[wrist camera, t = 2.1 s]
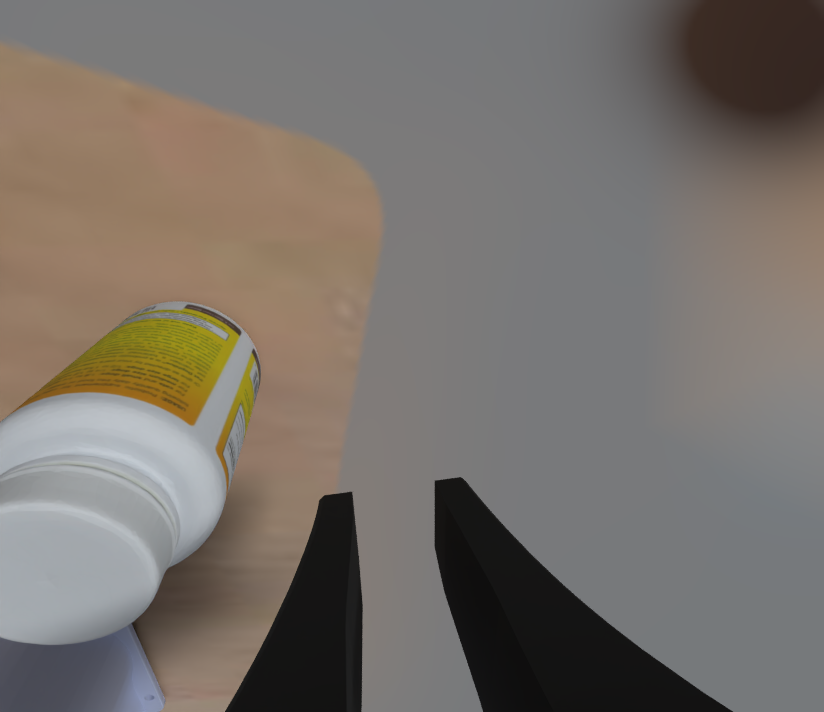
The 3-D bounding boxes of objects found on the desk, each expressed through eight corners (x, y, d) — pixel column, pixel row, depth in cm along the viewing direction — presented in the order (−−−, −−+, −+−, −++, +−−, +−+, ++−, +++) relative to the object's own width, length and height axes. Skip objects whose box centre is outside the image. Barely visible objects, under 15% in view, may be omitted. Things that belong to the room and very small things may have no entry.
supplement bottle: (83, 329, 17) (-222, 543, 7) (220, 275, 17) (85, 421, 7) (167, 439, 19) (17, 703, 10) (286, 392, 19) (248, 611, 10)
